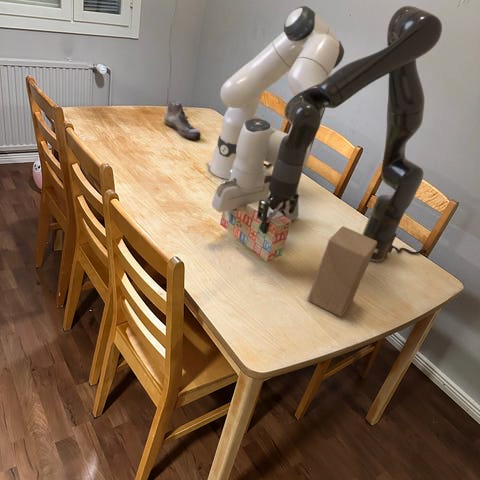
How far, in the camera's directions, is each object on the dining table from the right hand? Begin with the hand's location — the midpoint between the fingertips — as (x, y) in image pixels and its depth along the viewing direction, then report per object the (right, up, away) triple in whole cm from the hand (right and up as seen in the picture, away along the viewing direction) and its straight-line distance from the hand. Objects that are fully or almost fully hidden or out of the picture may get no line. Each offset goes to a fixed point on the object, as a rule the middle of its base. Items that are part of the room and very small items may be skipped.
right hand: (271, 229), depth 124 cm
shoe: (-36, +48, +84) cm, 103 cm away
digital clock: (+5, +3, +29) cm, 29 cm away
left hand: (-10, +4, +10) cm, 14 cm away
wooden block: (+16, -20, -3) cm, 26 cm away
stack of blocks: (-6, -3, +8) cm, 11 cm away
